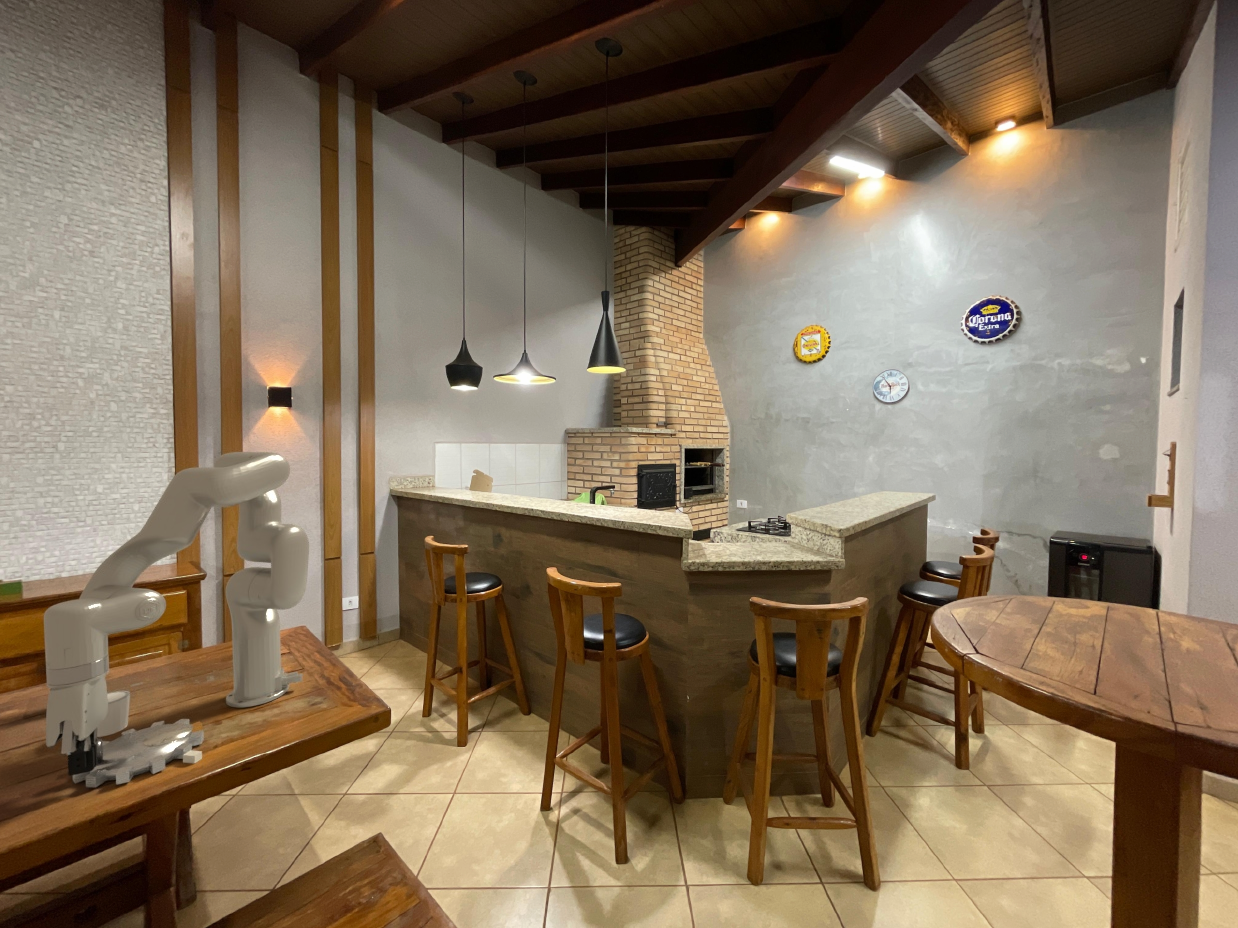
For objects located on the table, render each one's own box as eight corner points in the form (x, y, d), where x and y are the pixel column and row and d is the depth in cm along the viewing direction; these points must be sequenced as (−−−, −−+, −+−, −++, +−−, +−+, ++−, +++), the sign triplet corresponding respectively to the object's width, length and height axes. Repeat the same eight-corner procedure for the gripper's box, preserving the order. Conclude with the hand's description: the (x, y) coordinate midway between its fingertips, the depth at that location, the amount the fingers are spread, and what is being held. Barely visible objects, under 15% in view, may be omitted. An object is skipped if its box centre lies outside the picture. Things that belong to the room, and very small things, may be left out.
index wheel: (184, 718, 111) (183, 692, 111) (219, 745, 101) (218, 716, 101) (61, 764, 95) (60, 733, 95) (87, 801, 85) (86, 767, 85)
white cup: (102, 740, 104) (101, 707, 103) (77, 736, 105) (76, 704, 105) (140, 722, 110) (139, 691, 110) (116, 718, 112) (115, 688, 111)
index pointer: (183, 762, 96) (182, 754, 96) (190, 757, 98) (190, 750, 98) (194, 763, 96) (194, 755, 96) (202, 758, 98) (201, 751, 98)
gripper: (70, 658, 93) (74, 753, 94) (23, 693, 80) (28, 804, 81) (124, 650, 97) (128, 742, 97) (87, 683, 83) (92, 789, 84)
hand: (83, 770), depth 89 cm, fingers closed
